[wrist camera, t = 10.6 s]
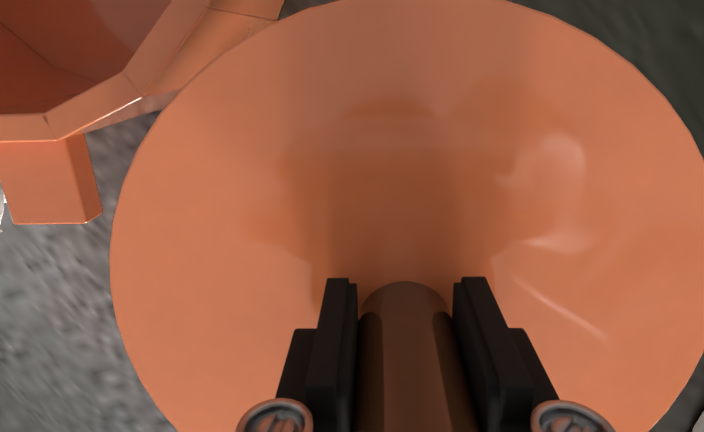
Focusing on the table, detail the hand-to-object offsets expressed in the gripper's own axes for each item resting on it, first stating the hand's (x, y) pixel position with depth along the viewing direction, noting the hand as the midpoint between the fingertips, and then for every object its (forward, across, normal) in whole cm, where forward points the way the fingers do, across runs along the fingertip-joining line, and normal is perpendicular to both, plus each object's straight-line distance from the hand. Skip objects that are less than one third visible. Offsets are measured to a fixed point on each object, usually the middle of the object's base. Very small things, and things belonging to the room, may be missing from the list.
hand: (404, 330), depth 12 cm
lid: (+1, 0, 0) cm, 1 cm away
